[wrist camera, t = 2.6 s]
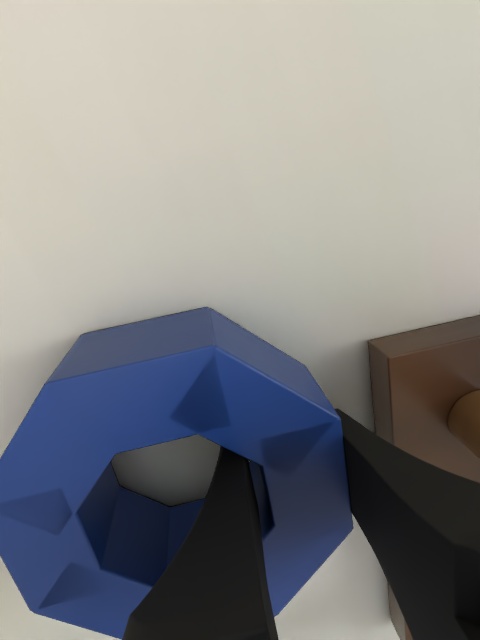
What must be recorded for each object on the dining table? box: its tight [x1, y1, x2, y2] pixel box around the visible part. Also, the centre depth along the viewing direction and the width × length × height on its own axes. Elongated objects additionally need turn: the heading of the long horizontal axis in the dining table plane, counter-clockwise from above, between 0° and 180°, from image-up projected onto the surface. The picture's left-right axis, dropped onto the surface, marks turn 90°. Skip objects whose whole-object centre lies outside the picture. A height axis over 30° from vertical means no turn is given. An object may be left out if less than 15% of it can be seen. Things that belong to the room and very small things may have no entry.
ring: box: [0, 307, 353, 639], centre depth 13 cm, size 10×10×3 cm
